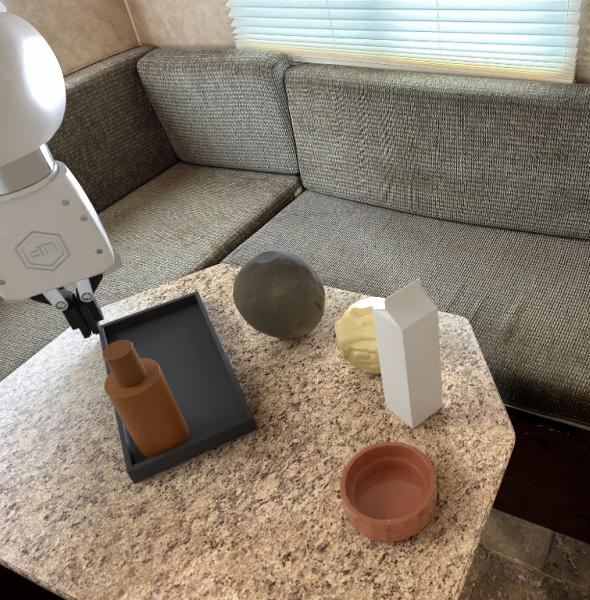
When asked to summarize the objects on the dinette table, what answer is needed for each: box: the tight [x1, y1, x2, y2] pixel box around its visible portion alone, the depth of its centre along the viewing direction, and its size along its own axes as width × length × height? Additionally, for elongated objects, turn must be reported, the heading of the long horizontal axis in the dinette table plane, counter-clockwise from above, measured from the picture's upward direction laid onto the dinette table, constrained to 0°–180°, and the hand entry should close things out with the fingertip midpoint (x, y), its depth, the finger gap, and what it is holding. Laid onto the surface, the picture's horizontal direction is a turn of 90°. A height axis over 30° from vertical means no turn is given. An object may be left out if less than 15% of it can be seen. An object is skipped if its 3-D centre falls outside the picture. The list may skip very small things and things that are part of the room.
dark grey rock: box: [232, 249, 326, 340], centre depth 99 cm, size 14×14×15 cm
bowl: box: [339, 441, 438, 543], centre depth 75 cm, size 12×12×4 cm
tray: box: [98, 290, 259, 485], centre depth 96 cm, size 18×35×3 cm, turn 28°
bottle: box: [102, 340, 190, 459], centre depth 81 cm, size 7×7×18 cm
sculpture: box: [334, 296, 386, 375], centre depth 93 cm, size 12×12×11 cm
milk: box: [372, 278, 444, 430], centre depth 81 cm, size 6×6×22 cm
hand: (91, 328), depth 62 cm, fingers closed
